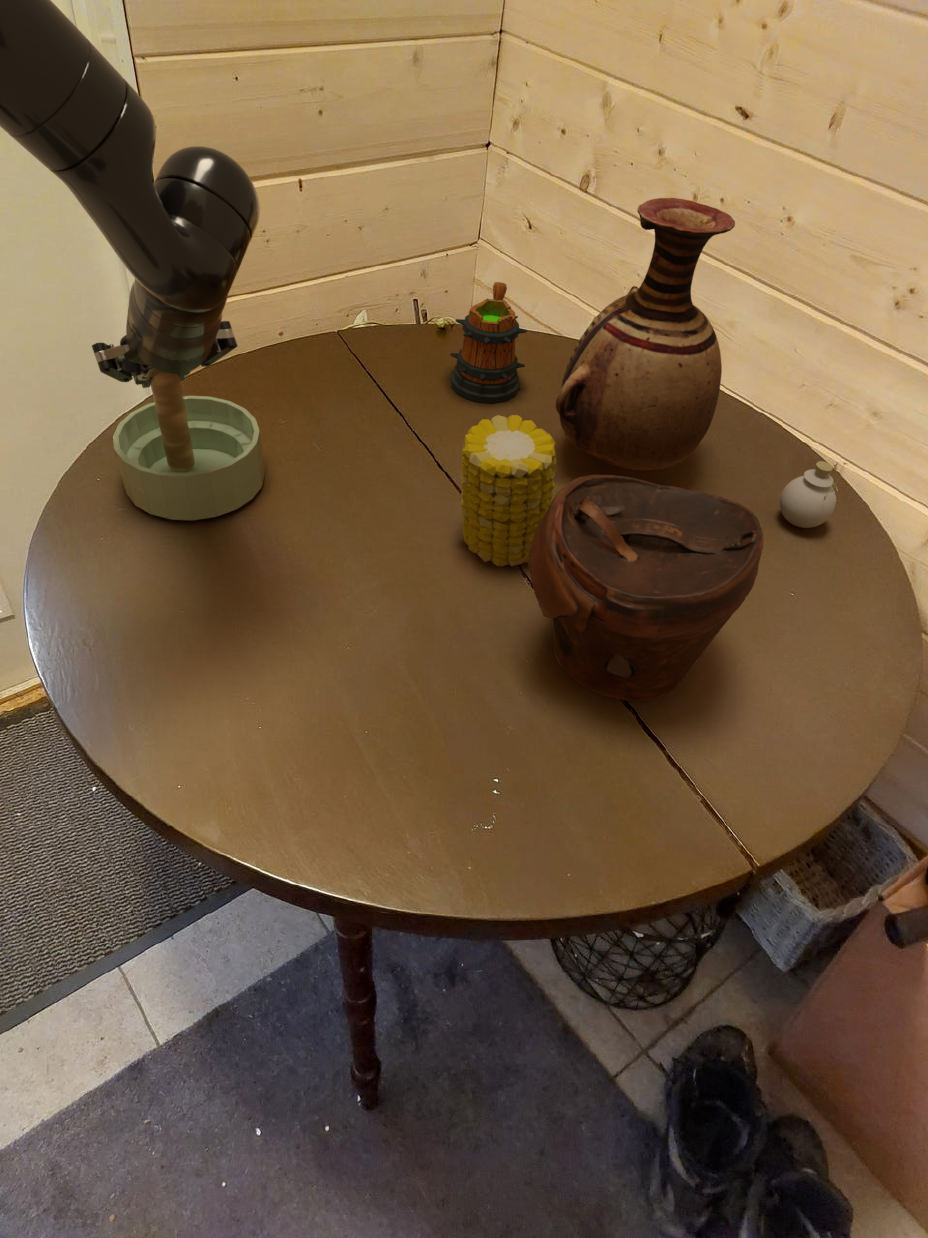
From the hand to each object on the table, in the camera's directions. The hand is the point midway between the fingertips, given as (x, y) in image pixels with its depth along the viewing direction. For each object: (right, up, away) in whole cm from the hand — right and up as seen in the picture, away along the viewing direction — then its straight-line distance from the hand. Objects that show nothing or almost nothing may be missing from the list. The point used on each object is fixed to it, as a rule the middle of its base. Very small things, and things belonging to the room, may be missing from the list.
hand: (159, 374), depth 88 cm
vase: (+52, -6, +16) cm, 55 cm away
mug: (+35, +7, +27) cm, 45 cm away
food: (+36, -18, +3) cm, 41 cm away
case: (+47, -29, -7) cm, 56 cm away
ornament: (+72, -15, +10) cm, 74 cm away
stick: (0, -8, +6) cm, 10 cm away
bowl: (+2, -10, +7) cm, 12 cm away
